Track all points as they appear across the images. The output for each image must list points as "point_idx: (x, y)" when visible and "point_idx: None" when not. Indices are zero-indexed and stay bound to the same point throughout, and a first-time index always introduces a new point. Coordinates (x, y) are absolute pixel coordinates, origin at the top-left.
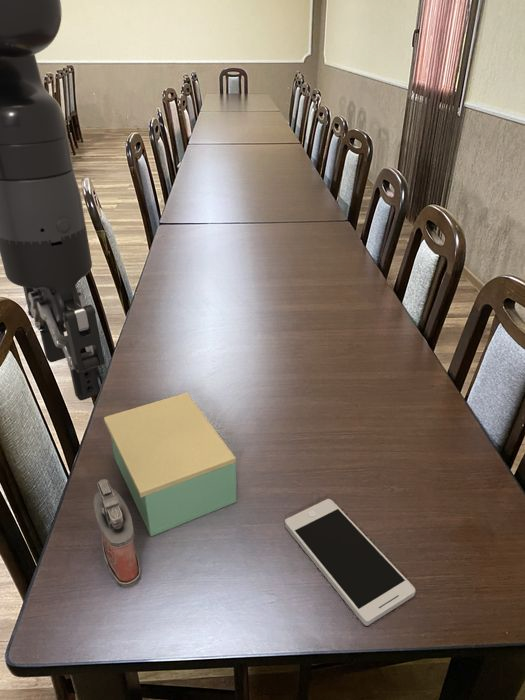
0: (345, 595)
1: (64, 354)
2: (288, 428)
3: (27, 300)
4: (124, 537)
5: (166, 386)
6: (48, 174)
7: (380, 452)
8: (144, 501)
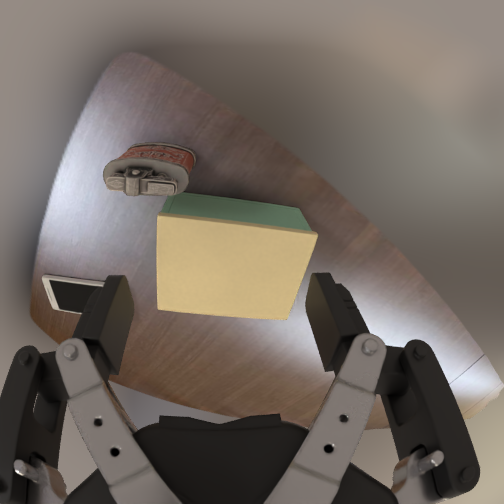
0: (57, 279)
1: (308, 306)
2: (223, 338)
3: (435, 388)
4: (107, 177)
5: (353, 292)
6: None
7: (161, 361)
8: (167, 211)
